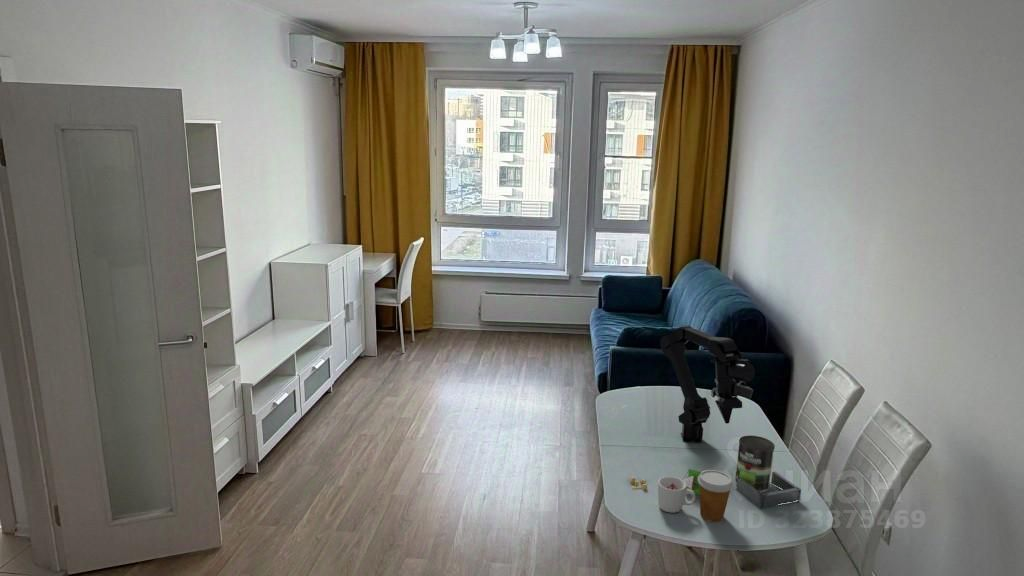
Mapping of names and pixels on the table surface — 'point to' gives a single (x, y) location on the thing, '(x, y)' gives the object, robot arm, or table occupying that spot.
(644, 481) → the dice set
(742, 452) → the coffee can
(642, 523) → the table surface
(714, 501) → the disposable coffee cup
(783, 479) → the grey shallow tray
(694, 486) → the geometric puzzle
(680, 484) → the cup
